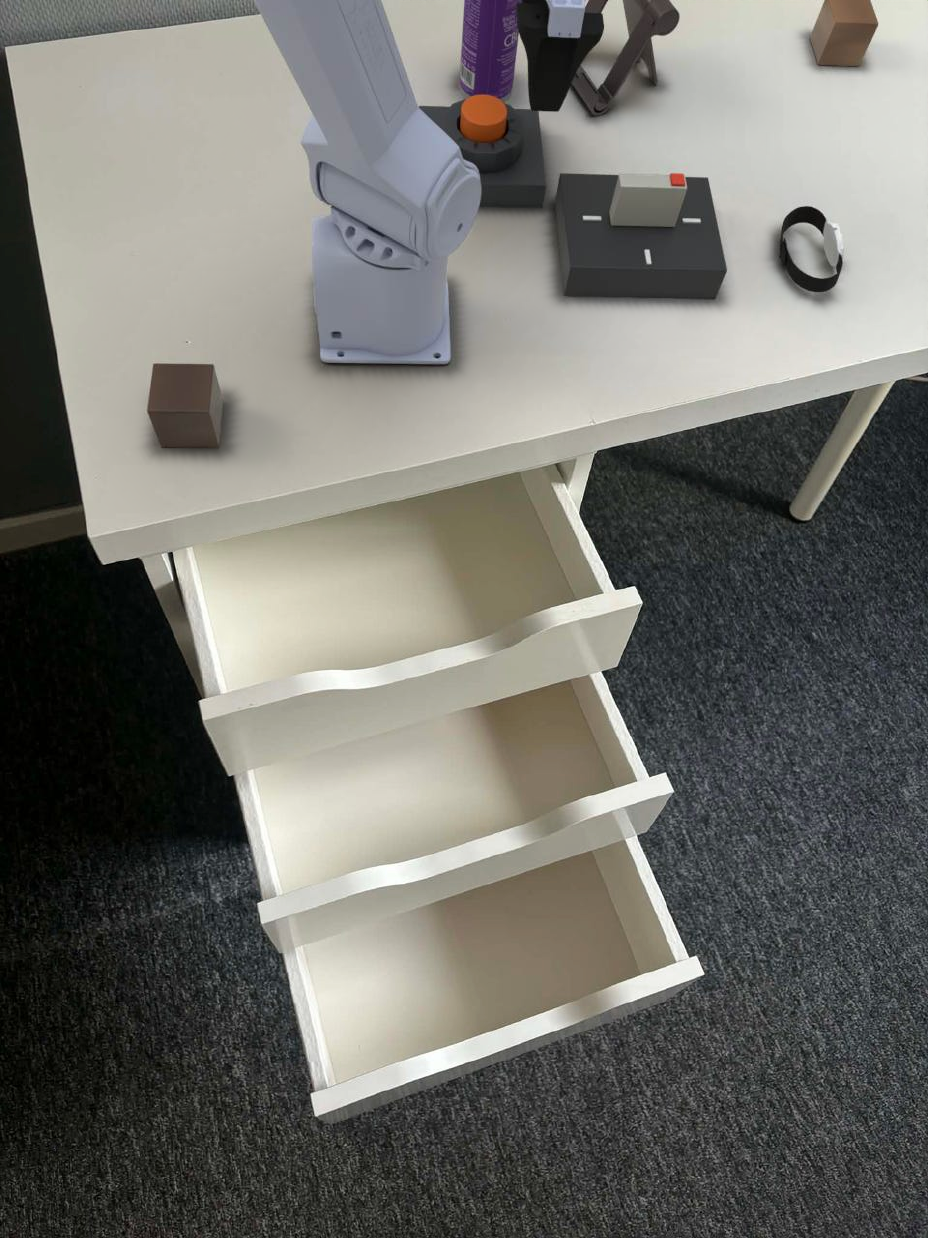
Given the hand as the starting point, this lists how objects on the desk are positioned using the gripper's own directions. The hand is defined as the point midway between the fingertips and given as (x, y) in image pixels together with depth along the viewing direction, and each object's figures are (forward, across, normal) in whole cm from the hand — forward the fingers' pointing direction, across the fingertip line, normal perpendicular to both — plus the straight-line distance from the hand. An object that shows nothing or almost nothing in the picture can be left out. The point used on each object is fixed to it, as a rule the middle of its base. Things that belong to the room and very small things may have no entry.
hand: (541, 72), depth 69 cm
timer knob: (+7, -6, -9) cm, 13 cm away
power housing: (+10, +3, +4) cm, 11 cm away
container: (+11, +13, +3) cm, 17 cm away
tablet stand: (+11, +15, -8) cm, 20 cm away
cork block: (+10, +20, -30) cm, 38 cm away
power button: (+7, +3, +4) cm, 8 cm away
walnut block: (+10, -24, +24) cm, 36 cm away
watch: (+11, -7, -22) cm, 26 cm away
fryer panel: (+10, -6, -8) cm, 15 cm away
